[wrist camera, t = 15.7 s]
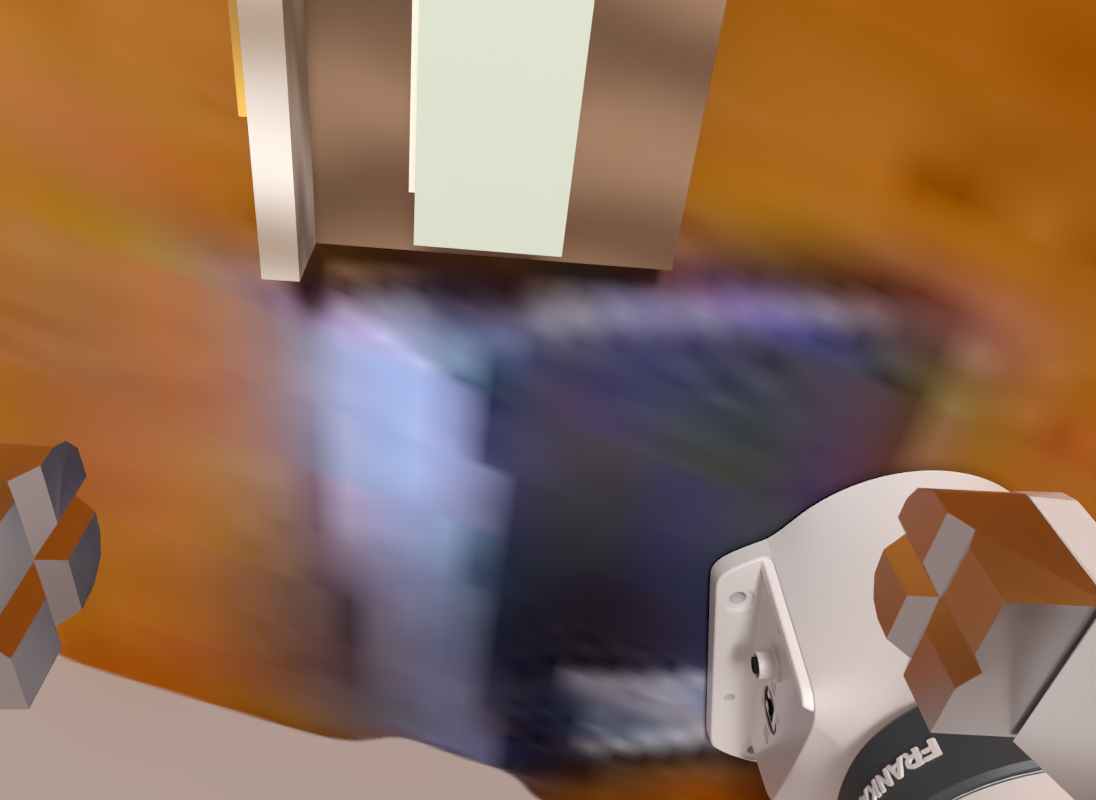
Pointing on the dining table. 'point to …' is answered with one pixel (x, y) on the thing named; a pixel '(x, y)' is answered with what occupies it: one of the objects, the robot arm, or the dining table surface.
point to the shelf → (384, 127)
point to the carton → (495, 121)
